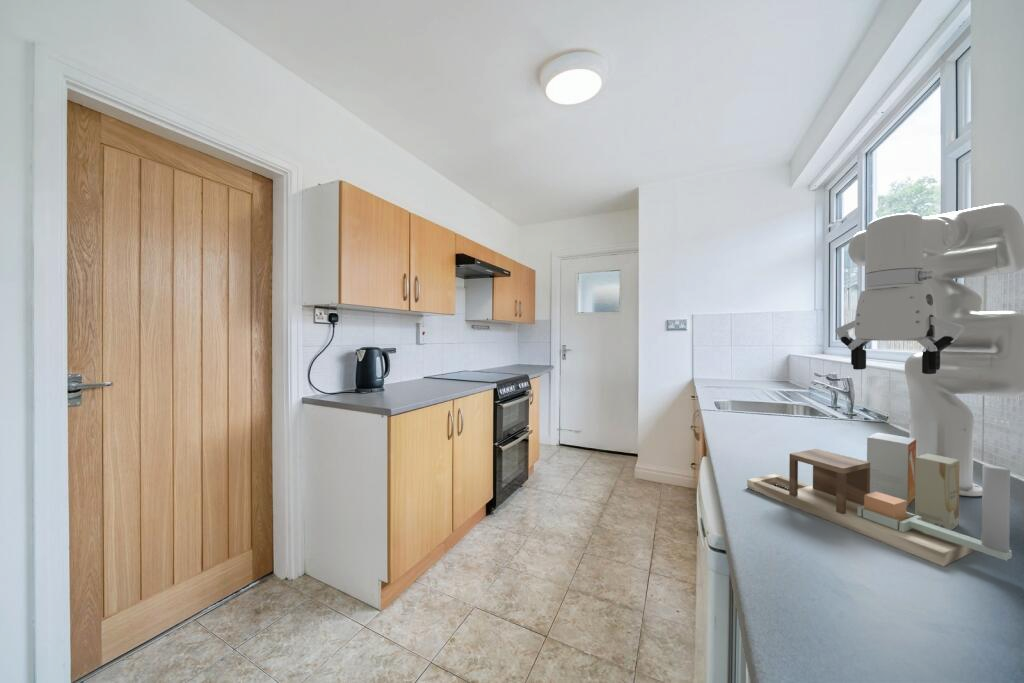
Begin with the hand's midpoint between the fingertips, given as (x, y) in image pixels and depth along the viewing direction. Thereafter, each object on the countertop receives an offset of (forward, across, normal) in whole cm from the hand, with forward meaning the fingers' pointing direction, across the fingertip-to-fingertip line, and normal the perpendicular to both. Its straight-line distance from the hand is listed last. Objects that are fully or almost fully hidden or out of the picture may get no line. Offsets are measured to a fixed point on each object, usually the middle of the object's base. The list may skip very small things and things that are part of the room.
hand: (892, 371), depth 67 cm
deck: (+28, +4, +7) cm, 29 cm away
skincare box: (+28, -4, -6) cm, 29 cm away
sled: (+26, -7, +7) cm, 28 cm away
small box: (+28, +5, -13) cm, 32 cm away
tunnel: (+26, +7, +7) cm, 28 cm away
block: (+26, -2, +7) cm, 27 cm away
